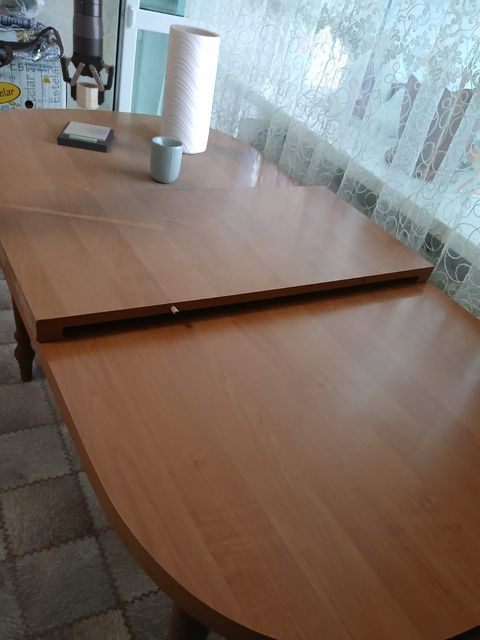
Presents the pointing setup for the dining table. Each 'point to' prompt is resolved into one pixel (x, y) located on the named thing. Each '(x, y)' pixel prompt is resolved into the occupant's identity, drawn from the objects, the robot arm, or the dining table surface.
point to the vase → (189, 86)
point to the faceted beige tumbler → (87, 95)
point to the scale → (86, 136)
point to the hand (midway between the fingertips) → (87, 102)
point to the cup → (165, 158)
